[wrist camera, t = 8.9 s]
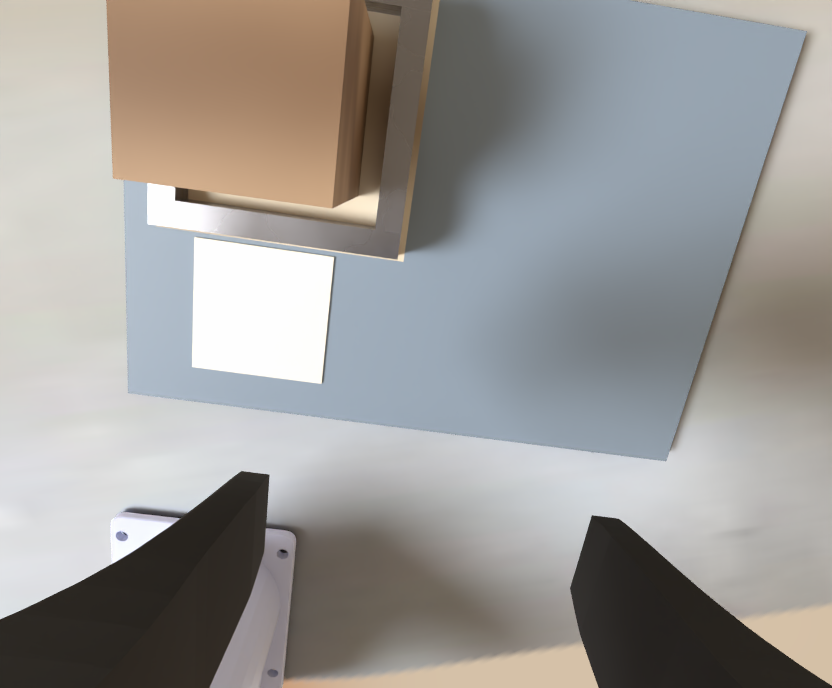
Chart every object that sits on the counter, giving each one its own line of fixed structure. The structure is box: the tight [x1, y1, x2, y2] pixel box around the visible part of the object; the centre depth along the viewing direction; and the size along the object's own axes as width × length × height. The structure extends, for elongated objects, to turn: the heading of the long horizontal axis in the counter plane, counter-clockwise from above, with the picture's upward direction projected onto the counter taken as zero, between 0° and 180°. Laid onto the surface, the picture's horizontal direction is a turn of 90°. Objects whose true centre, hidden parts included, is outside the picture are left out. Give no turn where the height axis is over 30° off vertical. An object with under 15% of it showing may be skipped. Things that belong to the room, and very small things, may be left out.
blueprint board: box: [124, 0, 807, 461], centre depth 18 cm, size 16×22×4 cm
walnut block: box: [106, 0, 374, 208], centre depth 13 cm, size 4×4×6 cm
